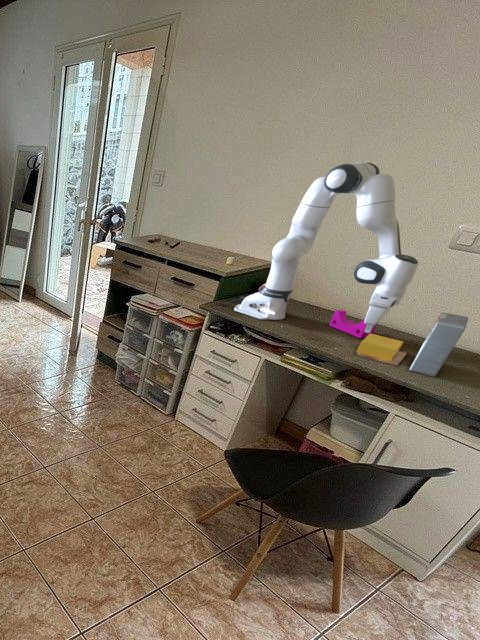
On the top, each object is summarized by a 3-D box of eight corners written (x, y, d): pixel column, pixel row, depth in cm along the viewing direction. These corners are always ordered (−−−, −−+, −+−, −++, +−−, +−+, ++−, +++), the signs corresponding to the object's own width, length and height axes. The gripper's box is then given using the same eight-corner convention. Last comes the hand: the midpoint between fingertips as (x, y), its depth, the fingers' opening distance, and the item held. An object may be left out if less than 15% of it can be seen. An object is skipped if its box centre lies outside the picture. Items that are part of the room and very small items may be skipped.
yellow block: (361, 341, 174) (396, 350, 167) (370, 333, 180) (403, 341, 173) (356, 352, 177) (390, 361, 169) (364, 343, 183) (397, 352, 175)
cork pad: (356, 354, 175) (356, 354, 175) (367, 343, 184) (367, 342, 184) (397, 365, 167) (397, 365, 166) (406, 353, 175) (407, 353, 175)
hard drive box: (414, 357, 172) (441, 311, 162) (440, 363, 167) (470, 317, 157) (408, 370, 163) (436, 323, 153) (435, 377, 158) (466, 329, 148)
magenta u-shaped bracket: (371, 336, 190) (379, 320, 186) (360, 338, 188) (367, 322, 185) (339, 323, 202) (346, 309, 198) (328, 325, 201) (335, 310, 197)
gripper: (383, 289, 176) (368, 320, 183) (369, 301, 165) (353, 333, 172) (403, 293, 171) (386, 324, 178) (390, 305, 161) (373, 338, 168)
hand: (370, 329), depth 175 cm, fingers open, 8 cm apart
